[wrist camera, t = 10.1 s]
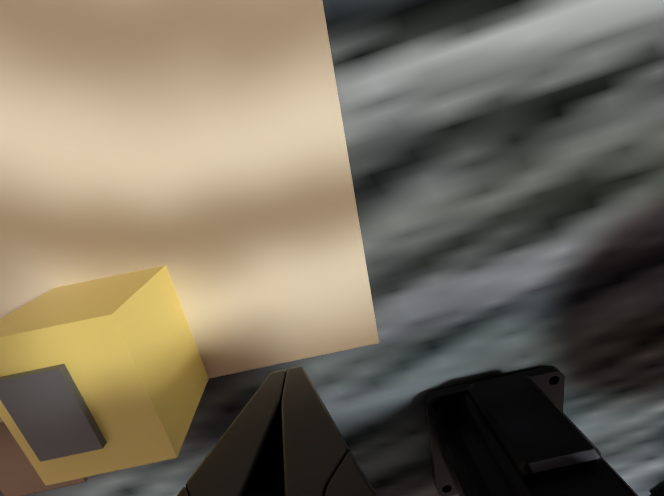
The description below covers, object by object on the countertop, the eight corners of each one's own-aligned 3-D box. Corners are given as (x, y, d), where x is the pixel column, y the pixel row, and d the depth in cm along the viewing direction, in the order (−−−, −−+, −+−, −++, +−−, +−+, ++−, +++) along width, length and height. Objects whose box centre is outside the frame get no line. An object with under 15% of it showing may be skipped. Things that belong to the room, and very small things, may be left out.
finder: (208, 378, 13) (175, 463, 10) (110, 399, 13) (40, 492, 10) (165, 264, 12) (107, 318, 8) (53, 287, 12) (-55, 351, 8)
